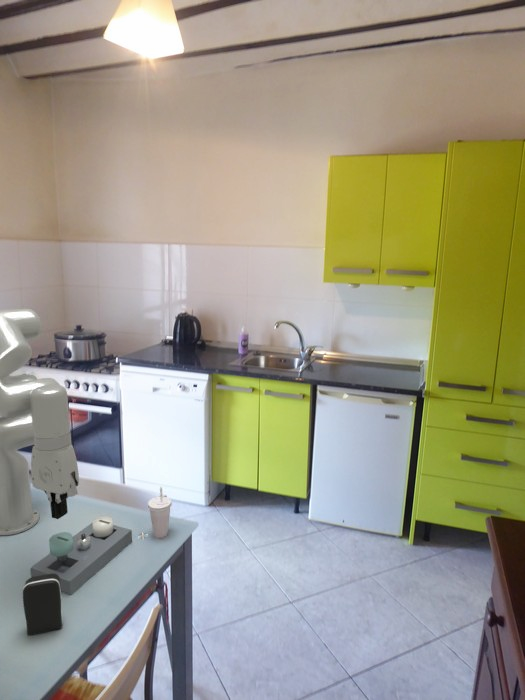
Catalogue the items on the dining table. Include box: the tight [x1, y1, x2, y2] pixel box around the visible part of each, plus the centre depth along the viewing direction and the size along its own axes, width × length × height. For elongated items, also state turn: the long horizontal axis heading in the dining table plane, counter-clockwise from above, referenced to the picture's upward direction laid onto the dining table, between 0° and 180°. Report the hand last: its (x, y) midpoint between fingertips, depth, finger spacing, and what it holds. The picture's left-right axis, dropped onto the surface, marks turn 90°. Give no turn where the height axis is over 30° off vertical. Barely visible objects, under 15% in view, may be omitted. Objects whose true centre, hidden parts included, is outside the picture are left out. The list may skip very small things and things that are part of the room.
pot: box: [77, 534, 91, 551], centre depth 118 cm, size 3×3×4 cm
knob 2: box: [92, 516, 114, 540], centre depth 125 cm, size 5×5×6 cm
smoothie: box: [147, 486, 173, 539], centre depth 129 cm, size 6×6×14 cm
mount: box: [29, 521, 133, 596], centre depth 119 cm, size 12×22×4 cm, turn 158°
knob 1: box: [48, 531, 73, 562], centre depth 112 cm, size 5×5×6 cm
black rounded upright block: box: [22, 573, 64, 636], centre depth 97 cm, size 7×4×11 cm, turn 108°
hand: (59, 515), depth 109 cm, fingers closed
